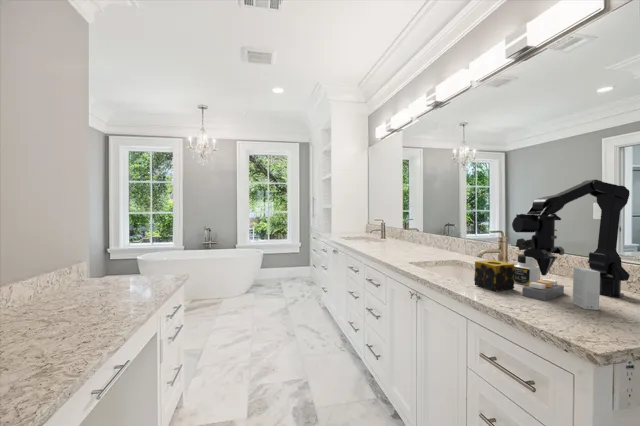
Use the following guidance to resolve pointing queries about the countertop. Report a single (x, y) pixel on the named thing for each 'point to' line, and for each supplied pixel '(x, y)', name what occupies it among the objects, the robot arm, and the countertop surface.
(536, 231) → the robot arm
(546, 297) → the block
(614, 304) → the countertop surface
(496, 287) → the yellow and black cube
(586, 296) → the skincare box
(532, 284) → the block
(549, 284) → the middle paddle
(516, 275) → the medicine bottle
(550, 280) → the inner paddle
